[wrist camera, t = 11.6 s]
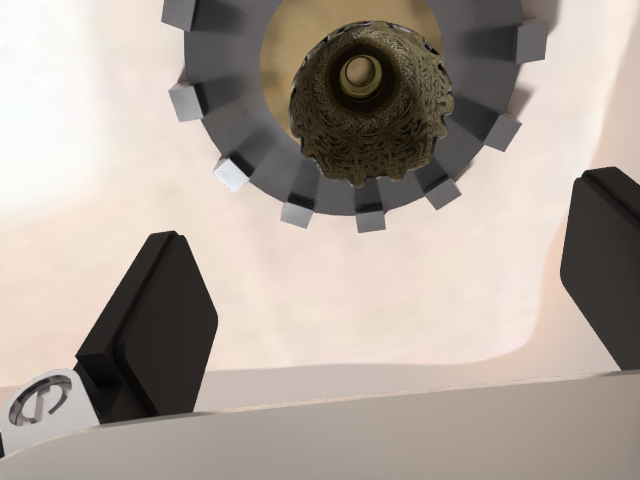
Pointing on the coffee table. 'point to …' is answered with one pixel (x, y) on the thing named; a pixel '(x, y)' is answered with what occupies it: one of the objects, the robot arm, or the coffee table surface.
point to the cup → (370, 103)
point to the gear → (305, 33)
